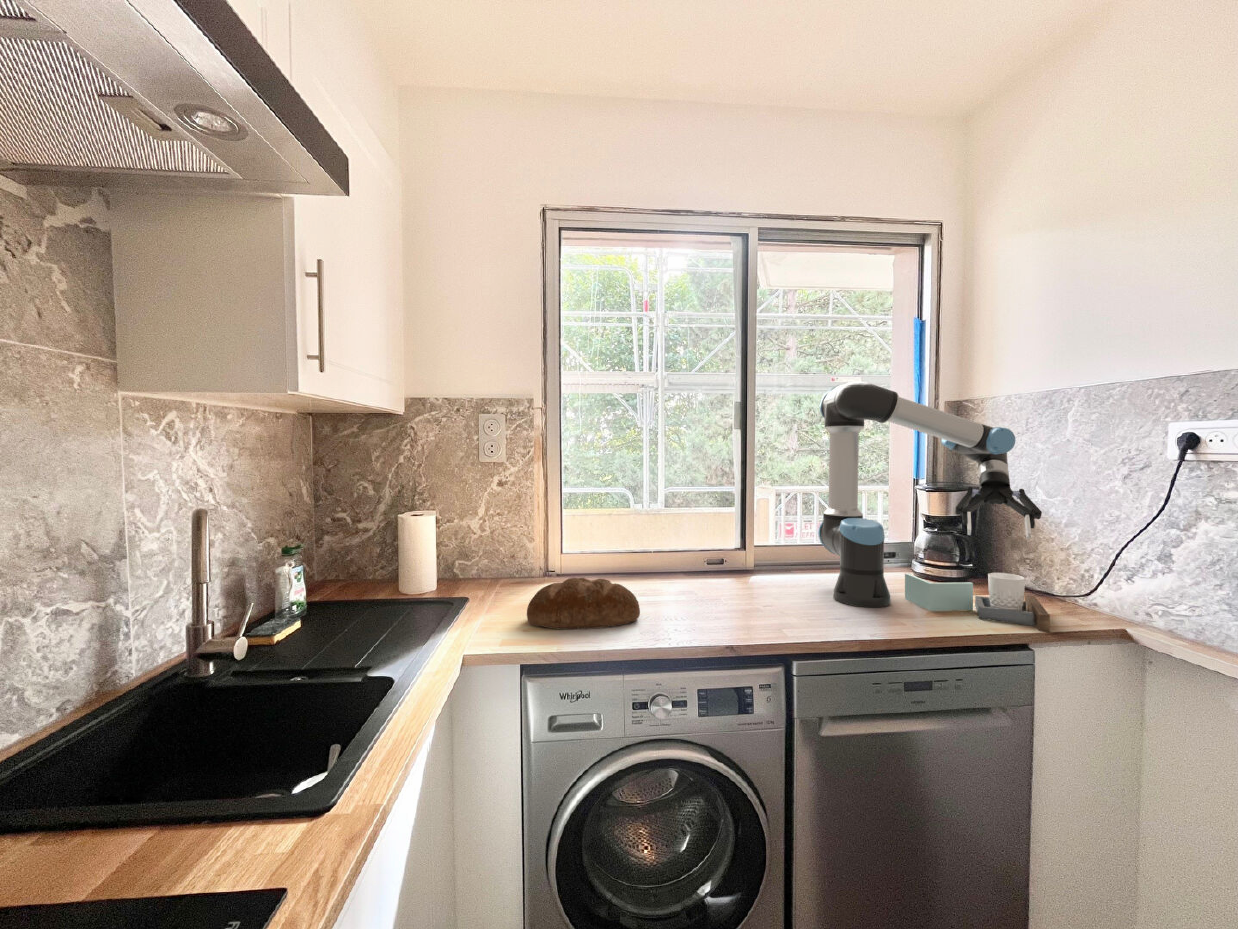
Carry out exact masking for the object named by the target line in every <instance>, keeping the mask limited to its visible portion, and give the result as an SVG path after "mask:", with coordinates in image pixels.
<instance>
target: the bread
mask: <svg viewBox="0 0 1238 929" xmlns="http://www.w3.org/2000/svg"><path fill="white" fill-rule="evenodd" d="M640 615H641V609H640V604H639V601H638V599H637V597H636V596H635V594H634V593H633V591H631V590H630V589H628V588H627V587H625V586H623V585H622V584H619V583H612V582H611V581H610V580H609V579H605V578H597V579H592V580H590V579H588V578H585V577H570V578H567V579H565V580H564V581H563V582H553V583H550V584H548V585H546V586H544V587H541V589H538V591H537V592H536V593H535V594H534V596H533V597H532V598H531V599H530V600H529V602H528V606H527V608H526V617H527V618H526V619H527V621H528V623H529V624H530V625H532V626H536V627H537V626H538V627H543V628H549V627H550V629H557V628H561V629H563V630H571V629H573V630H575V629H576V630H577V629H579V630H580V629H582V628H583V629H598V628H601V627H602V628H609V627H617V626H621V625H626V624H631V623H633V622H635V621H637V620H638V618H640ZM602 628H601V629H602ZM561 629H560V630H561Z"/></svg>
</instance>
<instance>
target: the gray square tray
mask: <svg viewBox="0 0 1238 929" xmlns="http://www.w3.org/2000/svg"><path fill="white" fill-rule="evenodd" d="M974 603H975V604H974V607H976V608H975V611H976V610H977V611H976V613H978V614H977V616H979V617H978V619H979V620H983V619H990V620H989V621H991V620H995V621H994V622H1000V623H1009V624H1015V625H1017V624H1018V625H1023V626H1032V627H1036V623H1035V621H1034V613H1033V612H1028V611H1026V601H1025V600H1024V601H1023V606H1022V611H1018V610H1009V609H1001V608H992V607H990V601H989V596H982V595H975V597H974Z"/></svg>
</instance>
